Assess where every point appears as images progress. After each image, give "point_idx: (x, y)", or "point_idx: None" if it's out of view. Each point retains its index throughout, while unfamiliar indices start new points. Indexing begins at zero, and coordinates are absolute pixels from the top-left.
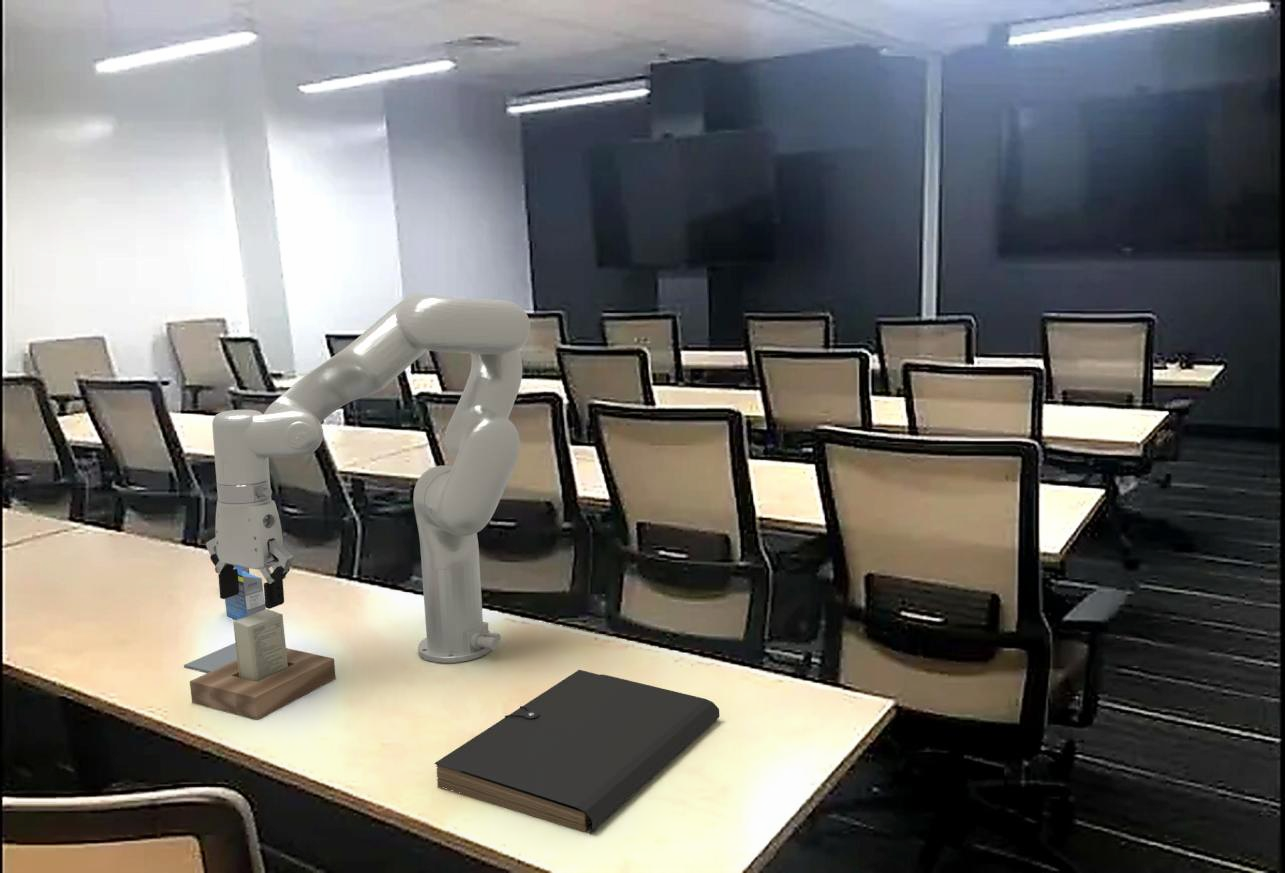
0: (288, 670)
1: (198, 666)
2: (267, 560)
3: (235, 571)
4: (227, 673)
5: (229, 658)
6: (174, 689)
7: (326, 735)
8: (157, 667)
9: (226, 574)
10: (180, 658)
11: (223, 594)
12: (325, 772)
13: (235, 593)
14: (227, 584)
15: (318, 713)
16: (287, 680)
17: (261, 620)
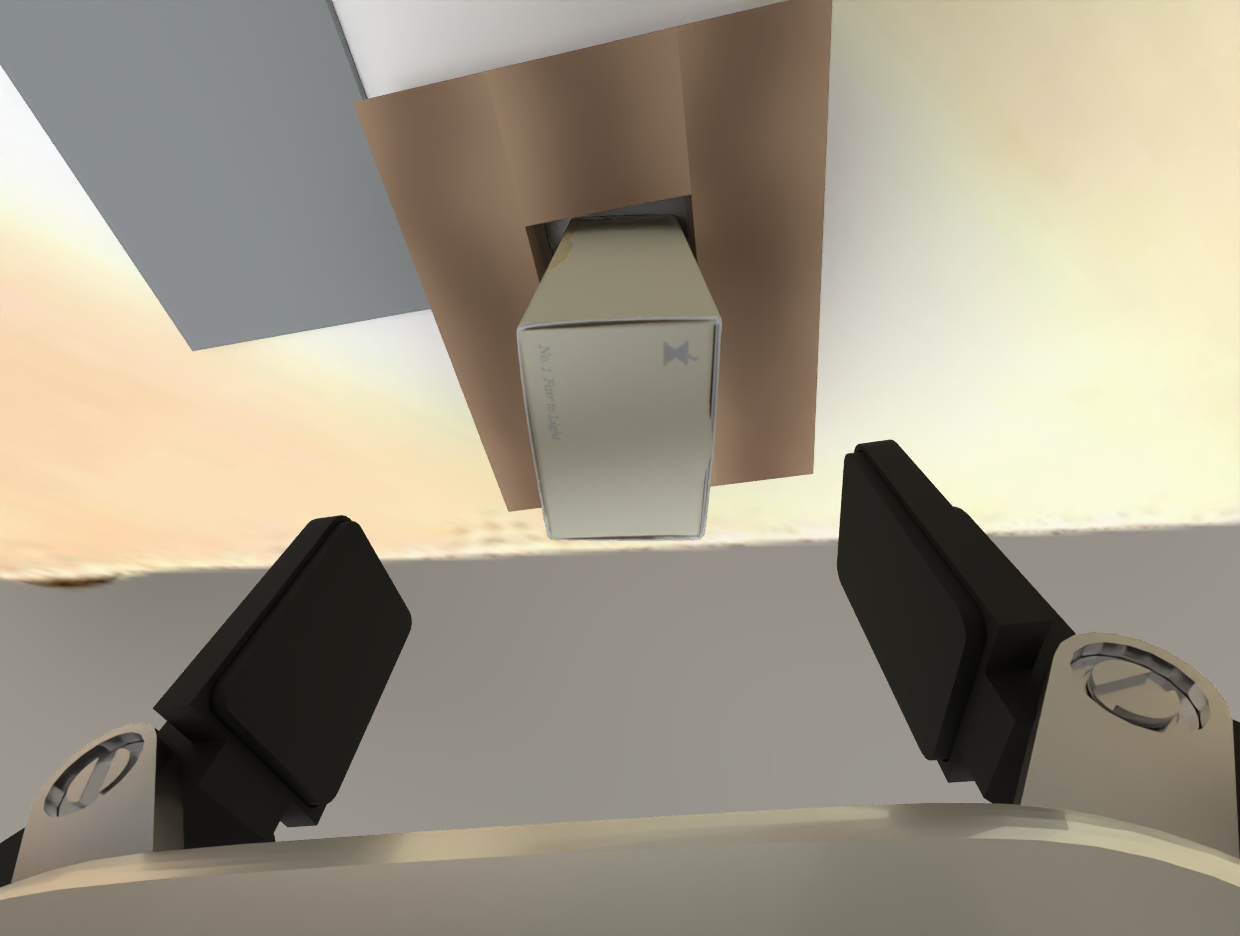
0: (731, 266)
1: (240, 328)
2: (656, 823)
3: (240, 716)
4: None
5: (218, 206)
6: (384, 450)
7: (1082, 381)
8: (148, 396)
9: (306, 782)
10: (88, 309)
11: (399, 647)
12: (1193, 497)
13: (363, 550)
14: (356, 683)
15: (955, 299)
16: (810, 331)
17: (686, 458)
